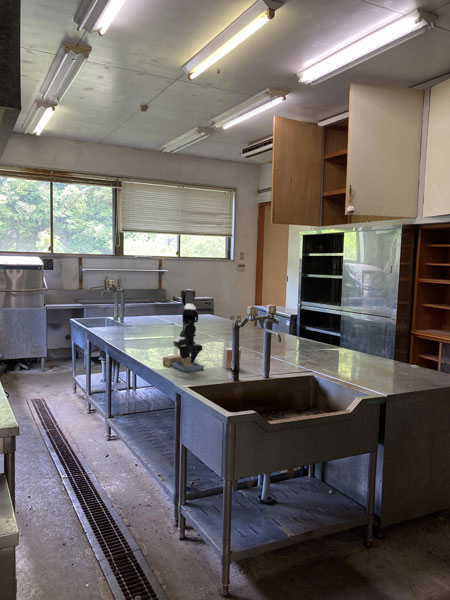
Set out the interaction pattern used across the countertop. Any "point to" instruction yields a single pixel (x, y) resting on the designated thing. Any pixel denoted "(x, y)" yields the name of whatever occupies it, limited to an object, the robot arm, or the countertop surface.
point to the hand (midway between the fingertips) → (187, 361)
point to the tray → (186, 369)
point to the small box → (229, 357)
